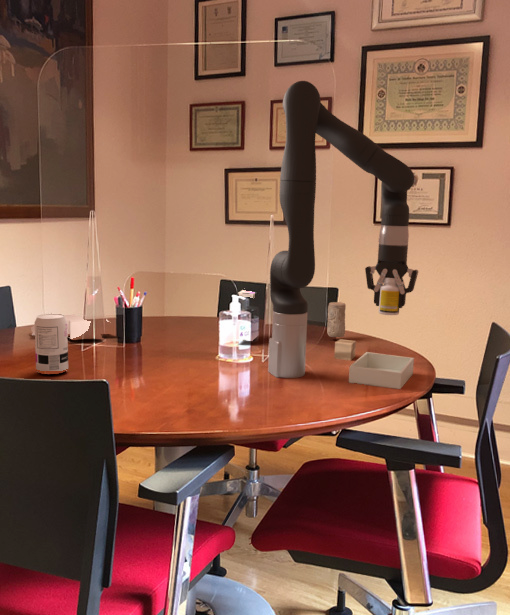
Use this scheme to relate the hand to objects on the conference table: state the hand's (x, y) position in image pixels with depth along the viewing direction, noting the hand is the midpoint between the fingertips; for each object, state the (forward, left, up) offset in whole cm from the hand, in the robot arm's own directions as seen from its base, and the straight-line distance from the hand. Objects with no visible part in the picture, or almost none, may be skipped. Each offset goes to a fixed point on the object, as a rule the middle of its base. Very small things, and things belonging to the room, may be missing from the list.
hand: (389, 306), depth 165 cm
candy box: (-20, +54, -20) cm, 61 cm away
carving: (+10, +47, -20) cm, 52 cm away
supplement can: (-85, +28, -20) cm, 91 cm away
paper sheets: (-76, +79, -20) cm, 111 cm away
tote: (-3, -3, -19) cm, 20 cm away
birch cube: (-1, +21, -19) cm, 29 cm away
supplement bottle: (0, 0, -2) cm, 2 cm away
